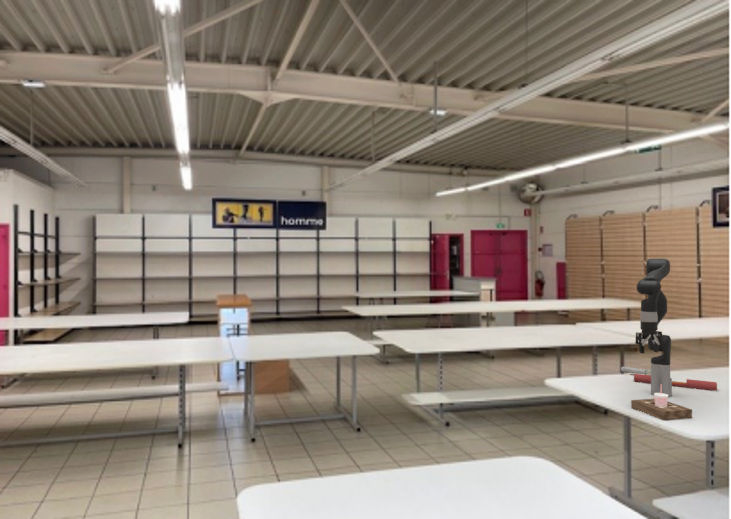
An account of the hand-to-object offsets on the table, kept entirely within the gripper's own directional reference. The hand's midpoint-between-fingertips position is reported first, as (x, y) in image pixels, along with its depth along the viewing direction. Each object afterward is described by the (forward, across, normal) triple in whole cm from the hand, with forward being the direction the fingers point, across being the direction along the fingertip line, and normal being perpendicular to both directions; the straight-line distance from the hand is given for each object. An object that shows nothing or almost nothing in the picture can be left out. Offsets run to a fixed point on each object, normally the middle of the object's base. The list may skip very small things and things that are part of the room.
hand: (649, 352), depth 254 cm
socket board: (+28, +2, +8) cm, 29 cm away
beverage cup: (+28, +1, +8) cm, 29 cm away
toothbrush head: (+30, -51, -61) cm, 85 cm away
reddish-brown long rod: (+30, -52, -34) cm, 69 cm away
